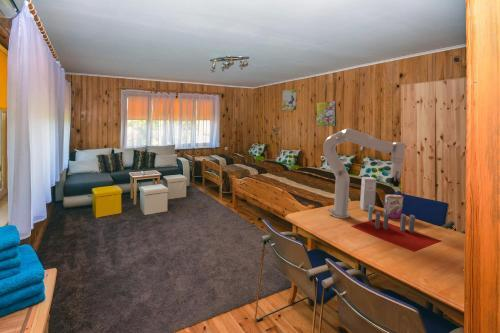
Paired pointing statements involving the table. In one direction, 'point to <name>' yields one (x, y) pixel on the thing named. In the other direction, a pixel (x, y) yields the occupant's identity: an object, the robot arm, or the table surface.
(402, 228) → the domino
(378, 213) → the domino
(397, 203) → the candy bar box
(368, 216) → the domino
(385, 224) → the domino
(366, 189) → the box
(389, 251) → the table surface
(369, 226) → the table surface
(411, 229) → the domino
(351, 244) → the table surface
